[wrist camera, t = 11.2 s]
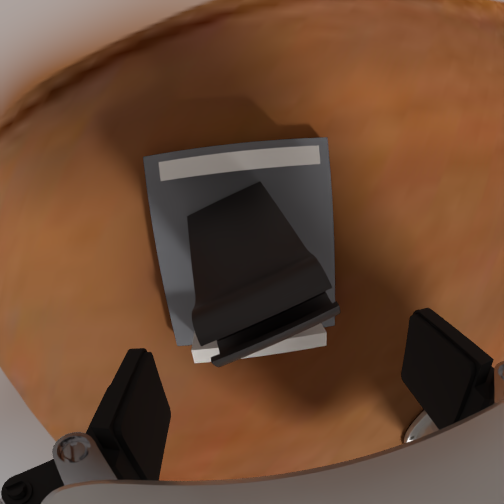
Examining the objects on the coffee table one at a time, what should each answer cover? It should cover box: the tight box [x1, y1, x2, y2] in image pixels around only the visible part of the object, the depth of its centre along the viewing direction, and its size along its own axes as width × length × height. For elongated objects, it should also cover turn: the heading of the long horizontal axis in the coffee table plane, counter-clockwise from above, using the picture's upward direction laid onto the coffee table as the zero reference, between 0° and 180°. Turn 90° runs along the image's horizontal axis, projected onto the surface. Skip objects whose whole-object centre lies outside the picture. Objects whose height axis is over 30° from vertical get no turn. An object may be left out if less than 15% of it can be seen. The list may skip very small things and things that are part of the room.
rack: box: [143, 137, 335, 363], centre depth 23 cm, size 14×16×6 cm
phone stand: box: [187, 182, 340, 367], centre depth 18 cm, size 9×6×12 cm, turn 24°
